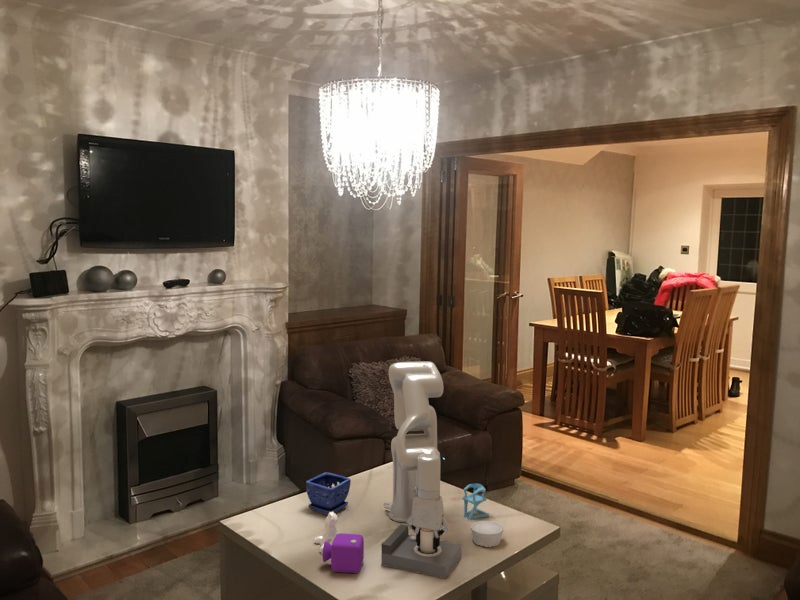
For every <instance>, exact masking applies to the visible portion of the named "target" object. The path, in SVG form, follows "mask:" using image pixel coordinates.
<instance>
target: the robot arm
mask: <svg viewBox="0 0 800 600" xmlns="http://www.w3.org/2000/svg"><path fill="white" fill-rule="evenodd" d="M388 379H389V383H390V386H391V388H392V392H393V397H394V398H393V399H394V403H393V404H394V405H393V408H394V410H393V411H394V413H393V414H394V415H393V416H394V425H395V428H396V429H397V435H396V436H394V437H393V438H392V440H391V444H390V450H391V457H392V471H393V472H392V493H393V494H392V501H391V502H390V501H388V500H387V501H386V500H384V501H383V509H387V510H389V512H388V517H389V519H391V520H392V521H394V522H398V523H406V524H408V526H410V528H411V529H412V530H413V531H414V534H415V536H416V542H417V546H420V528H424V529H429V530H434V534H435V537H434V538H433V549H434V550H436V549H437V547H439V545H440V541H441V536H443V534H444V533H446V532H448V531H449V530H450V528H451V527H450V525H449V524H448V522H447V520H446V519H445V510H444V502H443V497H442V495H441V453H440V451H439V450H438V421H437V420H438V419H437V417H438V416H437V412H436V410H435V408H434V407H433V406H432V405H430V402H429V398H430V399H431V398H440V397H442V395H444V394H443V393H444V387H445V386H444V380H443V378H442V375H441V373H440V371H439V370H438V367H437V366H436V364H435V363H434V362H433V361H425V360H424V361H400V362H398V361H397V362H394V363H392V364H390V366H389V368H388ZM416 431H418V432H420V431H422V432H424V433H408V432H416ZM407 433H408V434H407ZM442 527H443V528H442Z"/></svg>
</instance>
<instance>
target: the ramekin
mask: <svg viewBox="0 0 800 600" xmlns="http://www.w3.org/2000/svg"><path fill="white" fill-rule="evenodd" d="M470 530H471V531H470V532H471V535H472V540H473V542H474V543H475V544H476V545H478V546H479V545H480V546H479V547H483V546H485V548H491V547H490V546H494V547H496V545H497V546H498V545H500V543H501V541H502V537H503V534H504V533H503V532H504V527H503V525H501V524H500V523H498V522H496V521H491V520H479V521H475V522H473V523H472V524H471V525H470ZM486 546H487V547H486Z"/></svg>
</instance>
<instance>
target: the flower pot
mask: <svg viewBox="0 0 800 600" xmlns="http://www.w3.org/2000/svg"><path fill="white" fill-rule="evenodd" d="M351 482H352V480H351V478H349V477H346V476H343V475H340V474H336V473H332V472H323V473H321V474H318V475H317V476H314V477H313V478H310V479H308V480H306V481H305V489H306V490H305V491H306V494H307V498H308V499H309V502H310V504H309V503H308V508H309V509H310V510H312V511H314V512H317V513H321V514H324V515H327V516H328V514H329V512H334V513H335V514H336V513H337V512H340V511H341V510H343V509H344V508H346V507H347V506H348V505H349V502H348V501H346V500H347V498H348V496H349V492H350V487H351ZM333 485H334V486H333Z"/></svg>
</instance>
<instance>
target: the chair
mask: <svg viewBox="0 0 800 600" xmlns="http://www.w3.org/2000/svg"><path fill="white" fill-rule="evenodd" d="M469 488H473V492H472V493H471V494H469V495H468V493H467V490H468V489H469ZM486 490H487V489H486V488H485V486H484V485H482V484H481V483H470V484H468V485H466V487H464V488H463V492H464V496H462V500H463V503H464V504H463V518H467V517H468V520H469V519H470V520H475V519H483V518H487V517H489V515H490V514H489V513H488V512H486V511H483V510H481V509H479V508H478V506H479V505H480V504H482V503H483V502H486V501H487V497H485V493H486ZM481 492H482V494H481V495H479V493H481ZM469 503H470V504H471V505H473V507H472V508H471V509H469V511H468V506H469V505H468V504H469ZM475 512H478V513H479V514H474V513H475Z"/></svg>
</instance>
